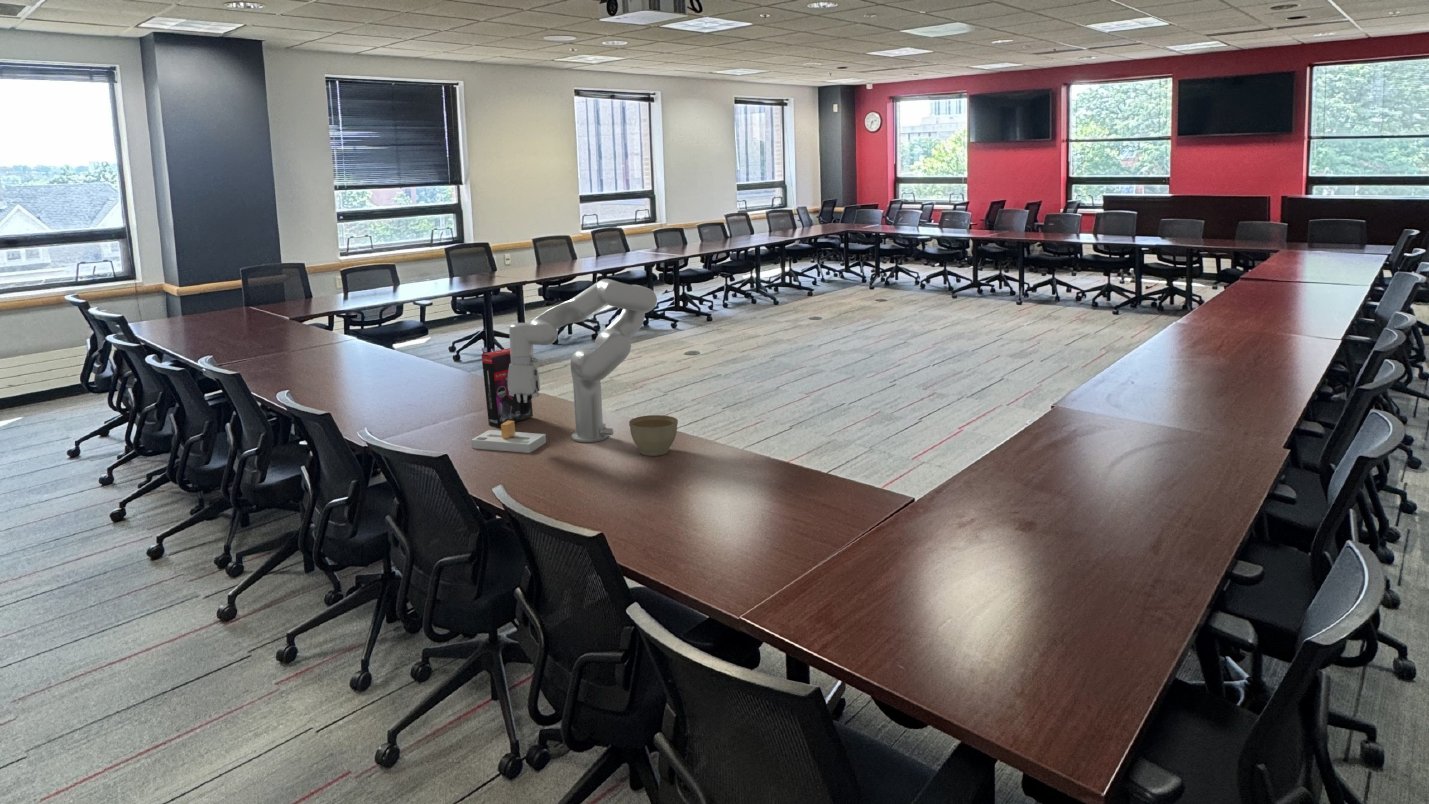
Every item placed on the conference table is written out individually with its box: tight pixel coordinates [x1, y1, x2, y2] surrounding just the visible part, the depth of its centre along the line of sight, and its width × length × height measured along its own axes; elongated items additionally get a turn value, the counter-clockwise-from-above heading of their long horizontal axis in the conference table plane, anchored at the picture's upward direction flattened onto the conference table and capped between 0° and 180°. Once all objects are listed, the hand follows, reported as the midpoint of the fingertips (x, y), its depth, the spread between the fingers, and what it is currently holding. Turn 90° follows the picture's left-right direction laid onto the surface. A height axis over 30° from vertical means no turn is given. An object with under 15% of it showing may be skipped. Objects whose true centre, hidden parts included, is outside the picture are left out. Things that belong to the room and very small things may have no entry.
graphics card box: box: [481, 347, 534, 428], centre depth 342 cm, size 17×7×27 cm, turn 143°
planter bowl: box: [628, 414, 679, 457], centre depth 305 cm, size 16×16×11 cm
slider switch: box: [471, 429, 547, 454], centre depth 316 cm, size 22×12×3 cm, turn 73°
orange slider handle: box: [500, 421, 516, 438], centre depth 315 cm, size 3×5×7 cm, turn 163°
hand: (524, 413), depth 311 cm, fingers closed
